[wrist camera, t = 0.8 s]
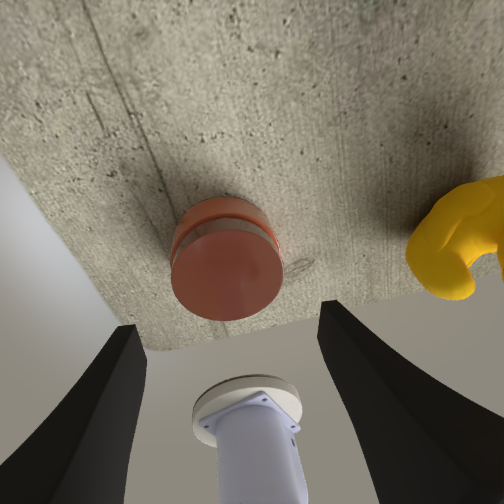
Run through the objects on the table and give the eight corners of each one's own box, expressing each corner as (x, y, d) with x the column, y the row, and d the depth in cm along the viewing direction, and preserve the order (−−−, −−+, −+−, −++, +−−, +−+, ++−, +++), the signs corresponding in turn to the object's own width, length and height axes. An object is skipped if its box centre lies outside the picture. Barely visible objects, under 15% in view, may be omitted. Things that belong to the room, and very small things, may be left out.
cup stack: (288, 254, 23) (305, 290, 19) (210, 296, 24) (211, 339, 20) (242, 176, 19) (252, 202, 15) (151, 231, 20) (140, 268, 16)
